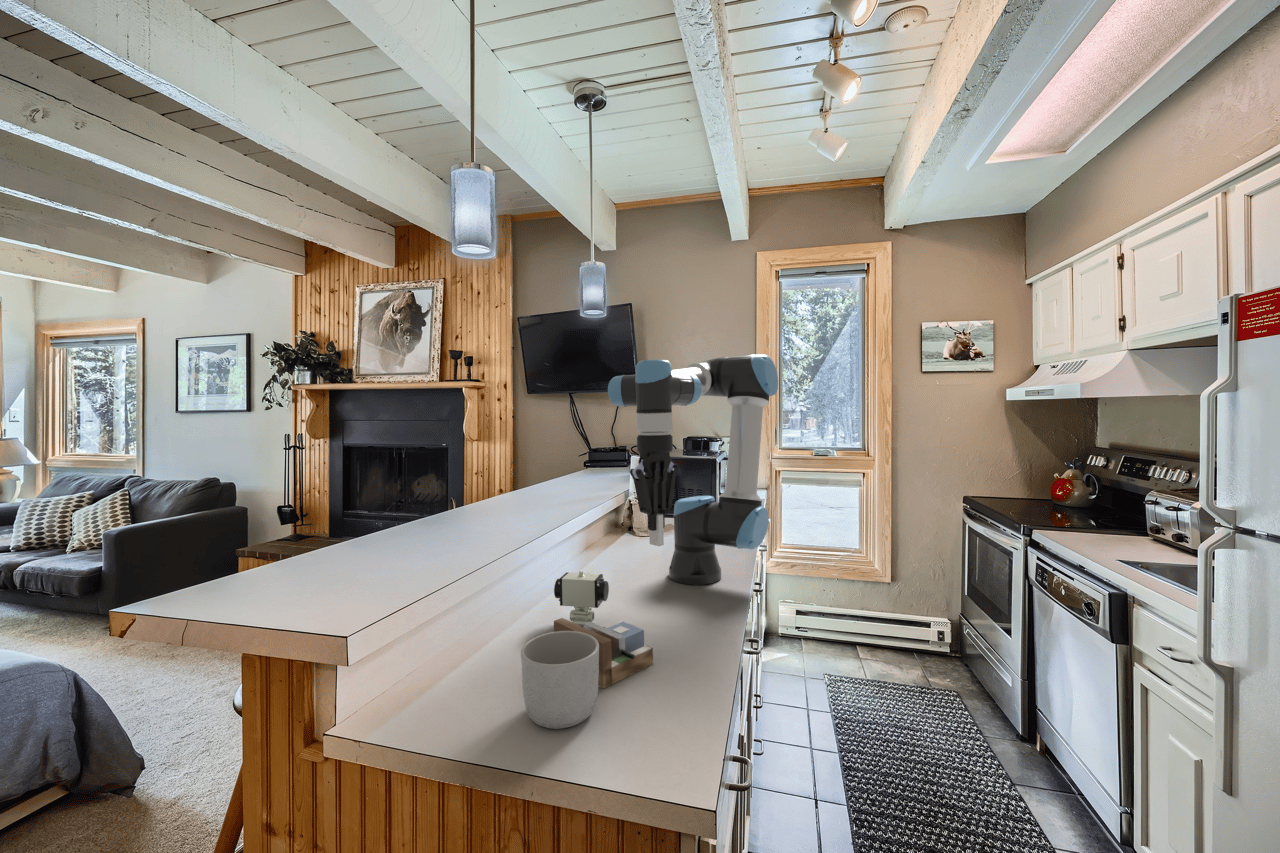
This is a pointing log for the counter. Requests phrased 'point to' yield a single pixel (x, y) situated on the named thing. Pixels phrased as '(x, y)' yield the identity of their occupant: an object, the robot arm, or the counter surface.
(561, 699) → the planter
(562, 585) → the pneumatic valve
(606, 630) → the grey flat panel
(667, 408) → the robot arm
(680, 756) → the counter surface
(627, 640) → the blue block
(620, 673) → the gauge frame
